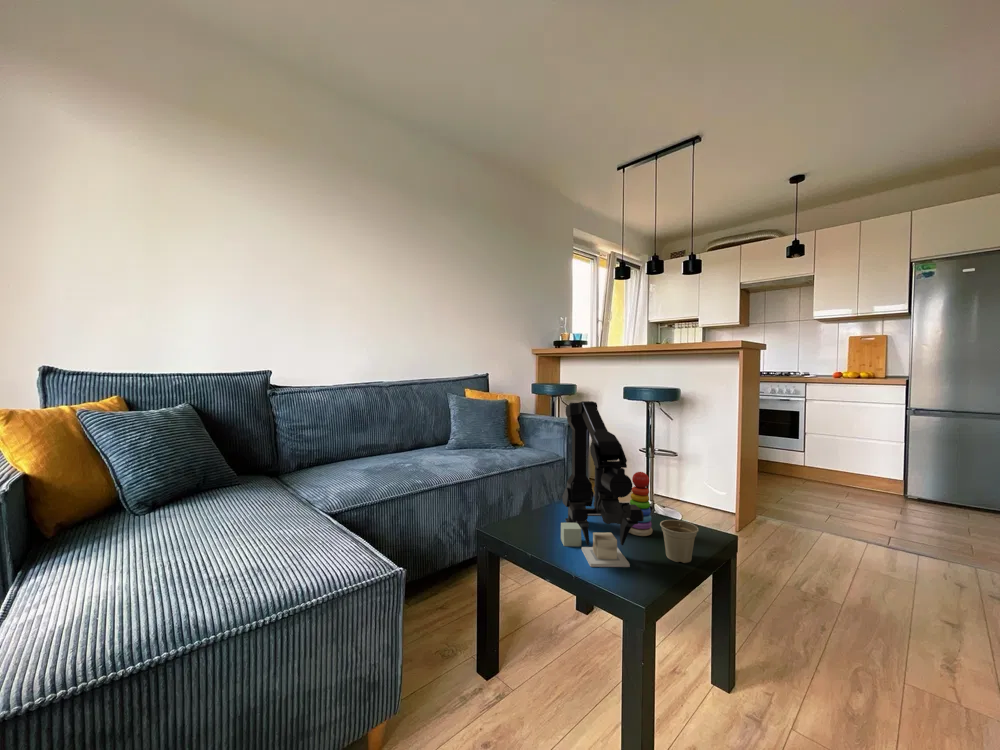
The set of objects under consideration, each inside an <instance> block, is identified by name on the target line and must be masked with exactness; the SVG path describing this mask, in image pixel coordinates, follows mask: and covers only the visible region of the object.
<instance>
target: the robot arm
mask: <svg viewBox="0 0 1000 750" xmlns="http://www.w3.org/2000/svg"><path fill="white" fill-rule="evenodd" d="M565 416H566V422H567V423H568V425H569V427H570V428H571V475H570V476H569V477H568V479H567V480H566V487H565V489H564V492H563V493H562V497H561V498H562V504H563V505H564V506H565V507H566V508H567V517H565V518H564V521H565V523H577V524H579V526H580V527H581V532H582V534H583V536H584V540H585V544H586V545H587V546H590V535H589V534H590V533H589V526H590V525H589V523H590V522H589V521H588V518H589V517H602V521H603V522H604V523H605V524H607V525H610V524H617V525H620V529H619V540H620V542H619V543H620V545H621V546H624V544H625V542H626V539H627V537H628V534H629V530H630V529H631V527H632V526H633V525H635V524H638V521H643V519H644V514H643V511H642V510H641V509H640V508H638V507H637V506H636V505H635V504H630V502H620V500H619V499H620V498H625V497H628V496H629V494H631V492H632V488H633V481H632V479H631V477H629V475H627V474H626V473H625V471H626V470H625V468H628V464H627V461H628V459H627V457H626V454H625V451H624V449H623V446H622V444H621V442H620V441H619V439H618V438H617V436H616V435H615V434H613V433H612V432H610V431H608V429H607V427H606V425H605V421H604V420H603V418H602V416H601V414H600V412H599V410H598V404H597V402H596V401H593V400H591V401H589V400H586V401H583V400H582V401H580V402H570V403H569V404H568V405H566V407H565ZM587 432H588V434H589V436H590V438H591V441H590V442H591V443H590V446H589V449H590V450H589V452H590V455H591V458H592V461H593V465H594V487H593V484H592V482H591V481H590V480H589V478H588V476H587V452H588V451H587V449H588V447H587V442H588V440H587V439H588V437H587ZM593 500H594V501H593ZM592 506H593V507H592ZM587 507H592V508H587Z"/></svg>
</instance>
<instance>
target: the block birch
mask: <svg viewBox="0 0 1000 750" xmlns="http://www.w3.org/2000/svg"><path fill="white" fill-rule="evenodd" d="M592 547H593V552H594V554H595V555H596V557H597V559H617V548H618V539H617V538H616V537H615V535H614V534H613V533H612V532H592Z"/></svg>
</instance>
